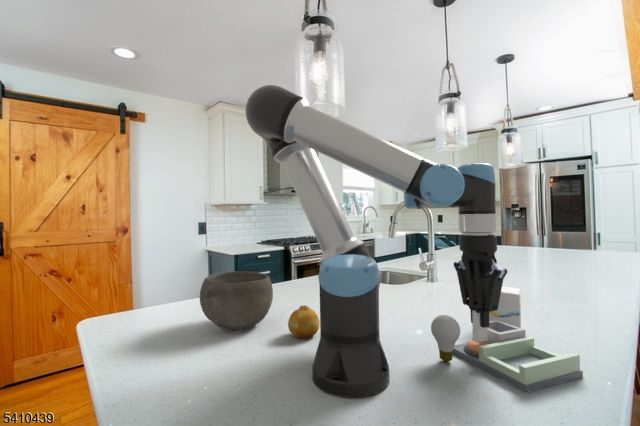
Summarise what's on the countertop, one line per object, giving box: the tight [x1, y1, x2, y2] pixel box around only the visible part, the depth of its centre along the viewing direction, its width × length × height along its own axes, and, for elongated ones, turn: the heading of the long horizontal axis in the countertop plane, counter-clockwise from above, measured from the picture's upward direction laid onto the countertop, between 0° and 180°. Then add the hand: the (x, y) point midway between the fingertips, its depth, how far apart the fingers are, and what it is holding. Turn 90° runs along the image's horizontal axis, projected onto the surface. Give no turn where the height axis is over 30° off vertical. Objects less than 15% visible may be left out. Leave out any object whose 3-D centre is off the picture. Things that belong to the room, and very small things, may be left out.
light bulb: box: [430, 314, 461, 363], centre depth 70 cm, size 6×6×10 cm
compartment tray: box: [453, 320, 584, 393], centre depth 69 cm, size 15×19×6 cm
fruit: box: [287, 304, 320, 339], centre depth 87 cm, size 8×8×8 cm
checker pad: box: [466, 339, 491, 354], centre depth 72 cm, size 5×5×1 cm
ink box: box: [489, 285, 522, 328], centre depth 87 cm, size 9×8×12 cm
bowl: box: [199, 270, 274, 331], centre depth 96 cm, size 21×21×15 cm
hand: (480, 340), depth 72 cm, fingers closed
